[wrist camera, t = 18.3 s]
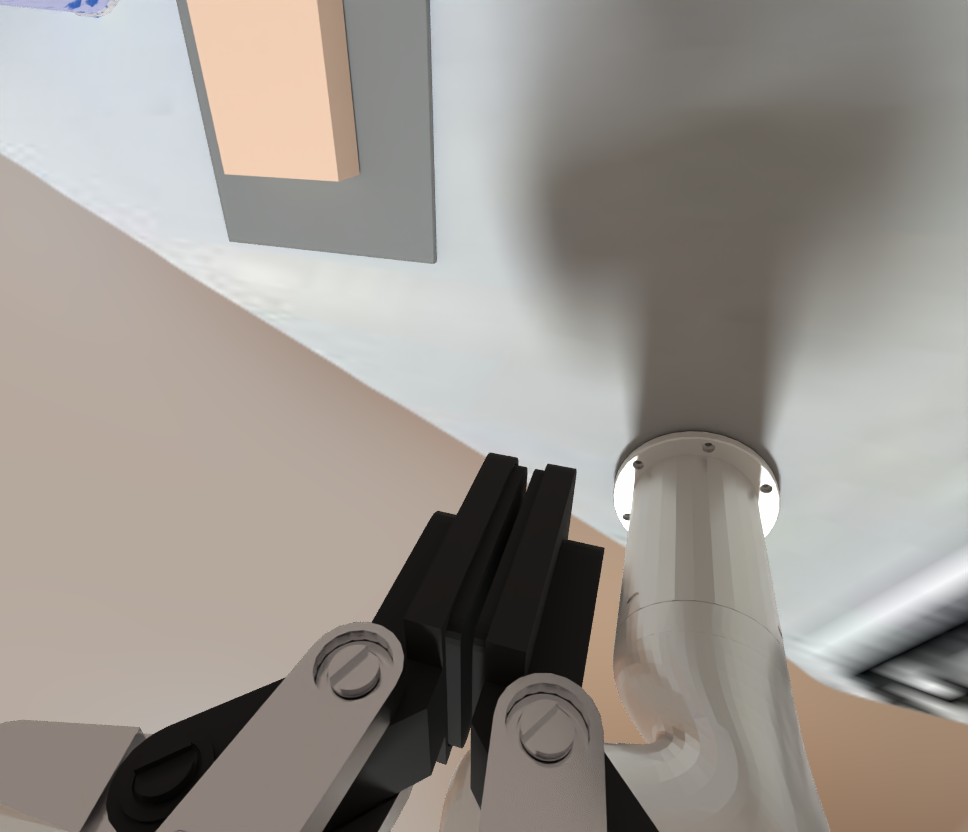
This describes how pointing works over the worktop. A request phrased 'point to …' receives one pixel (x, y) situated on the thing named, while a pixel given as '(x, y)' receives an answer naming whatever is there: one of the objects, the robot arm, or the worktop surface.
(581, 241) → the worktop surface
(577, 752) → the robot arm
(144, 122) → the worktop surface
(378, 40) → the mat
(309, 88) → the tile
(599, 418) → the worktop surface
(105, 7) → the aerosol can
